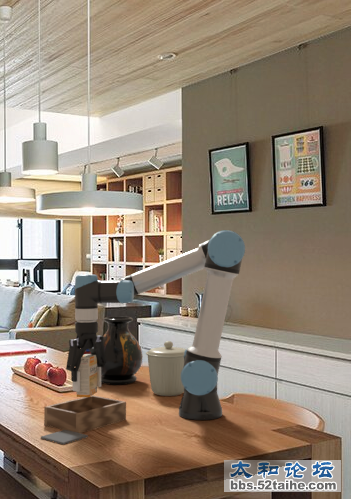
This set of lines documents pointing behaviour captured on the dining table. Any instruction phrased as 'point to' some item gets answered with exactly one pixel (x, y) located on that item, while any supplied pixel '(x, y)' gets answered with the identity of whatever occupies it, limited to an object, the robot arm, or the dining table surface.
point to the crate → (84, 413)
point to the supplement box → (88, 375)
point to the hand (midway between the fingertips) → (87, 388)
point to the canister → (166, 369)
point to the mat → (64, 436)
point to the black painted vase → (120, 352)
